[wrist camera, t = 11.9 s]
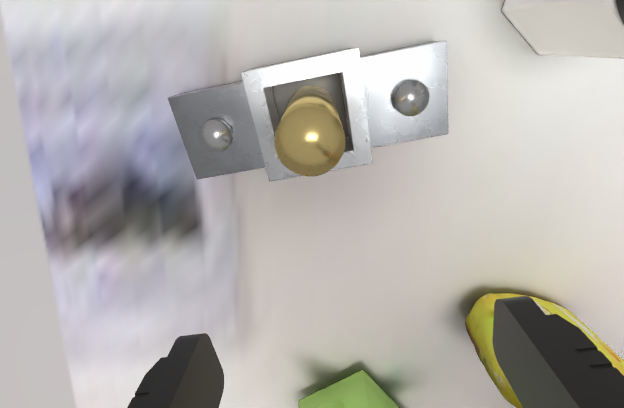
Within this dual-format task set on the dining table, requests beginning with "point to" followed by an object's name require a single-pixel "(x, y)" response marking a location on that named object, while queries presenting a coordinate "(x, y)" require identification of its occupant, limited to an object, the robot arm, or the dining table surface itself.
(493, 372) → the bottle
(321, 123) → the pin
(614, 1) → the jar
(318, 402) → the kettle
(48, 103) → the dining table surface
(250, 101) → the bolt keeper plate
